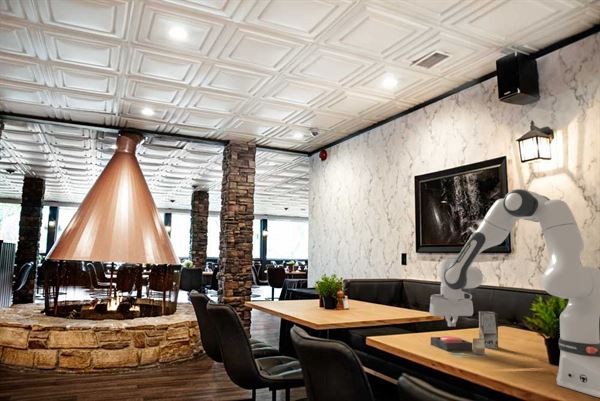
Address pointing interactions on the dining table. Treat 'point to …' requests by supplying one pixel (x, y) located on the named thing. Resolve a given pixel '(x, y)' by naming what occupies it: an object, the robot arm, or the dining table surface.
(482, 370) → the dining table surface
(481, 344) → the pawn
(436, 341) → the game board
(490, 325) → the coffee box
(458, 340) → the dome
